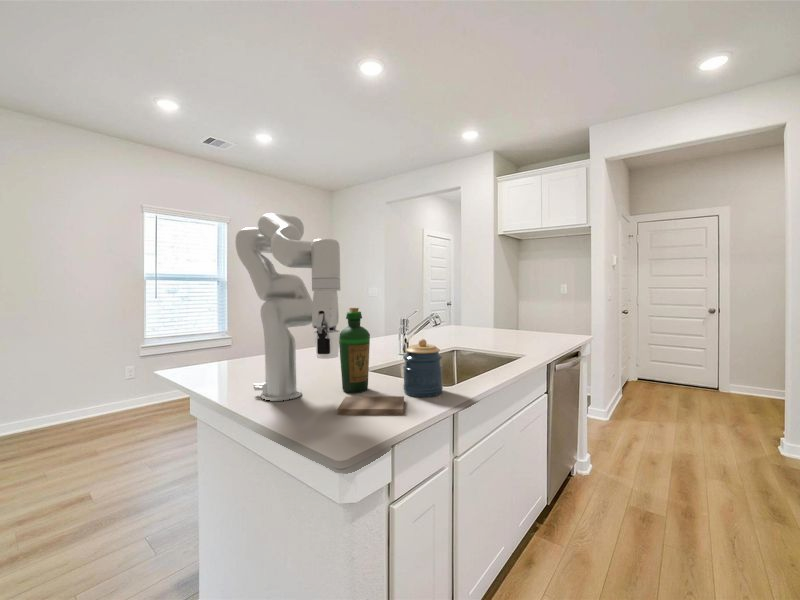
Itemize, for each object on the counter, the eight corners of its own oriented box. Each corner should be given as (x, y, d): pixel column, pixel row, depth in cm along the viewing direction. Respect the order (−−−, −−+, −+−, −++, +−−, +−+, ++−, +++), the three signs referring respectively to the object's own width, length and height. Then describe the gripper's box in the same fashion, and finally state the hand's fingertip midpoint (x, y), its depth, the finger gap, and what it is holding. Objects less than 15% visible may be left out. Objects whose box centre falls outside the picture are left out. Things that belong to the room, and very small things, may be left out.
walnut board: (337, 414, 102) (337, 409, 102) (345, 401, 114) (345, 396, 114) (403, 414, 101) (403, 409, 101) (404, 401, 113) (404, 396, 113)
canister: (451, 393, 121) (450, 339, 120) (418, 400, 114) (417, 343, 113) (427, 385, 132) (426, 335, 131) (396, 390, 125) (395, 338, 124)
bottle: (364, 395, 120) (362, 308, 119) (334, 393, 123) (332, 308, 122) (375, 386, 130) (374, 307, 129) (347, 385, 133) (346, 307, 132)
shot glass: (343, 354, 103) (343, 329, 103) (336, 359, 97) (335, 332, 96) (319, 354, 104) (319, 329, 104) (310, 359, 98) (310, 332, 97)
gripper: (321, 286, 109) (323, 346, 109) (301, 285, 92) (303, 357, 92) (347, 285, 108) (348, 346, 109) (331, 284, 91) (333, 357, 92)
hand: (327, 350), depth 100 cm, fingers closed on shot glass, 6 cm apart
